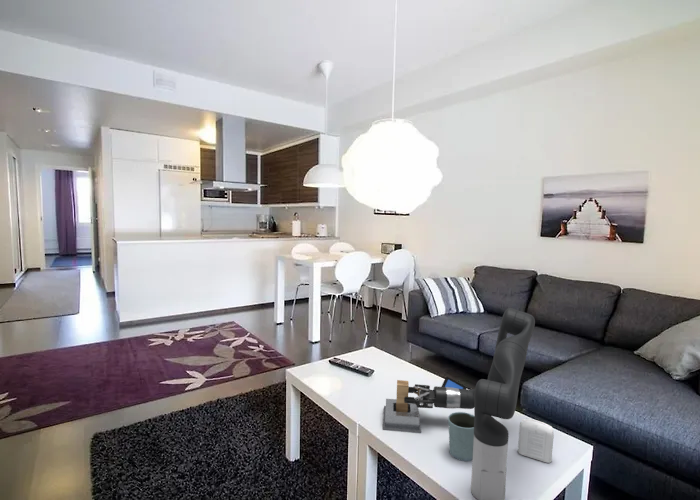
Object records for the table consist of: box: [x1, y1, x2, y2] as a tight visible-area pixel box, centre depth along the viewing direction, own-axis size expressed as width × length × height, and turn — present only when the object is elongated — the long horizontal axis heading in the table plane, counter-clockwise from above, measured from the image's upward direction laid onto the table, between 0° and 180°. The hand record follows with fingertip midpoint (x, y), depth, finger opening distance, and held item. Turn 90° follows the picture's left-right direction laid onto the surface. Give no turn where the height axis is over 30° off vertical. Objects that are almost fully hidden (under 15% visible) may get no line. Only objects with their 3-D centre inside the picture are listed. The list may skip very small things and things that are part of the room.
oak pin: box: [396, 379, 410, 412], centre depth 146 cm, size 4×4×14 cm
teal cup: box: [447, 411, 474, 462], centre depth 126 cm, size 10×10×12 cm
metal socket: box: [382, 398, 422, 434], centre depth 146 cm, size 16×14×5 cm
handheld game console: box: [440, 376, 467, 389], centre depth 163 cm, size 12×11×7 cm
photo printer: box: [517, 418, 555, 464], centre depth 125 cm, size 10×4×12 cm, turn 60°
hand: (404, 394), depth 145 cm, fingers open, 8 cm apart
